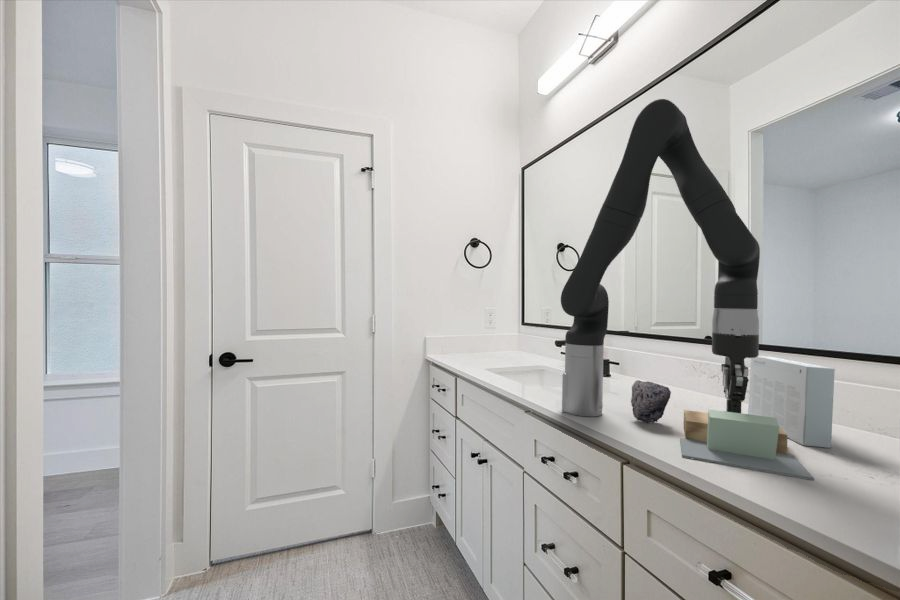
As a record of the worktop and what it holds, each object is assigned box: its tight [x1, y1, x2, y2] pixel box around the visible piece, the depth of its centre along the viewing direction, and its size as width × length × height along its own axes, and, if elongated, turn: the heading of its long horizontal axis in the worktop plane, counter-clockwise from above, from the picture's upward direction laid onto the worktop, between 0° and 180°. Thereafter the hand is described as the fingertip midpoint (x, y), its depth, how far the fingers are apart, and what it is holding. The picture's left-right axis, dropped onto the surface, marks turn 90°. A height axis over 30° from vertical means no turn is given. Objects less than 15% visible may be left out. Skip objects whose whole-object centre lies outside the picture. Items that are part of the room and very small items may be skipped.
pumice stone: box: [630, 380, 672, 424], centre depth 93 cm, size 10×8×10 cm
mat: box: [679, 437, 815, 481], centre depth 72 cm, size 18×11×1 cm, turn 62°
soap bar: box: [707, 409, 779, 460], centre depth 72 cm, size 10×7×2 cm
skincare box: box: [747, 355, 836, 449], centre depth 89 cm, size 21×5×16 cm, turn 168°
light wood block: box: [683, 409, 788, 455], centre depth 81 cm, size 16×10×4 cm, turn 62°
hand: (733, 419), depth 78 cm, fingers closed
